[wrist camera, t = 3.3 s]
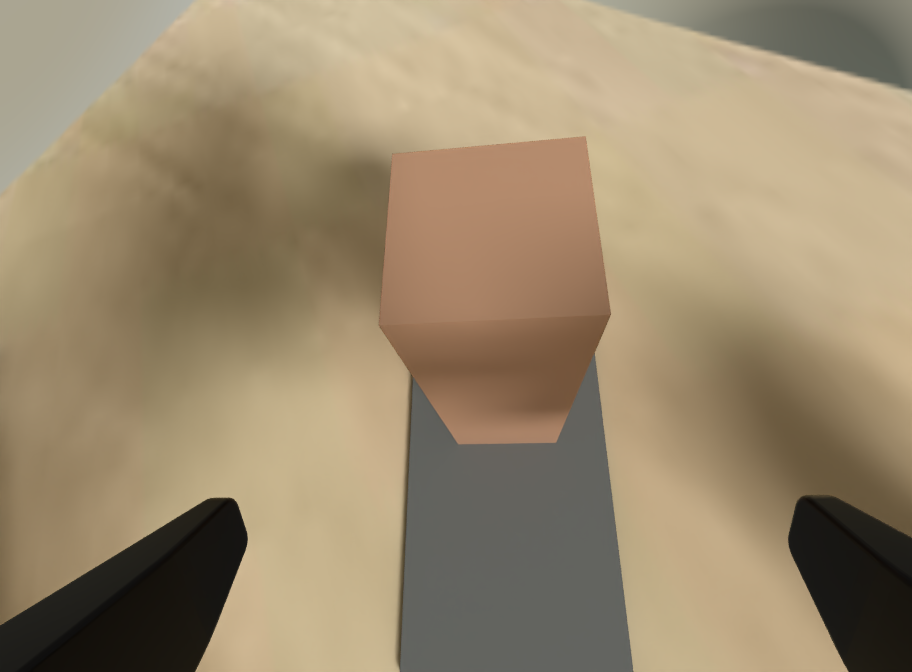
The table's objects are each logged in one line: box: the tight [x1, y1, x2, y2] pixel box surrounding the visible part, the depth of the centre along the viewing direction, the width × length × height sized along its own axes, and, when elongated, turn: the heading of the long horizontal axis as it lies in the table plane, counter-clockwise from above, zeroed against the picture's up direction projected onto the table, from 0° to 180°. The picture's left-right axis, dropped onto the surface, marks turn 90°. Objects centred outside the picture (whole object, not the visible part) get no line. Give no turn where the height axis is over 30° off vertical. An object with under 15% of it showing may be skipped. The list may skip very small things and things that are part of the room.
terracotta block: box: [379, 136, 611, 444], centre depth 14 cm, size 4×4×12 cm
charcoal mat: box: [400, 353, 633, 672], centre depth 20 cm, size 20×8×1 cm, turn 0°
